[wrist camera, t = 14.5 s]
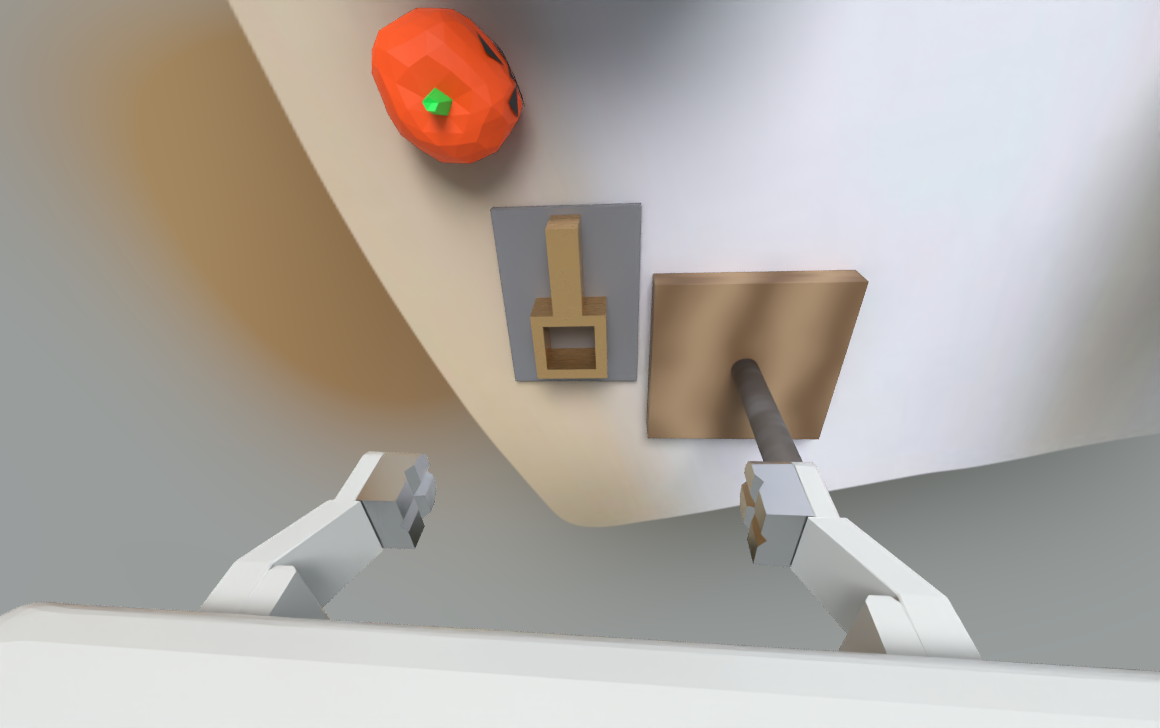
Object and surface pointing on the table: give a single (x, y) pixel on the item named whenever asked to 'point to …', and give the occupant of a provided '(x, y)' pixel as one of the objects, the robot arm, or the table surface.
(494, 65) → the pumpkin
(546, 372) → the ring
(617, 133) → the table surface
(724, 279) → the stand
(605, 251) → the mat
